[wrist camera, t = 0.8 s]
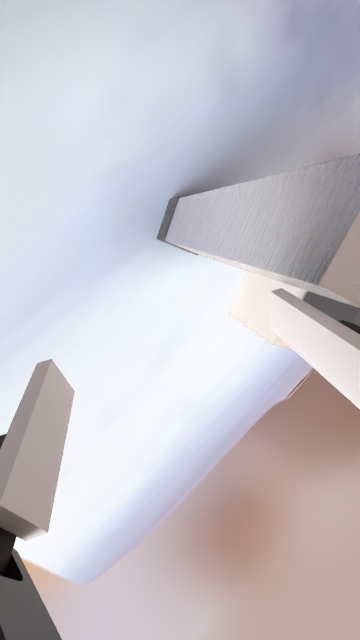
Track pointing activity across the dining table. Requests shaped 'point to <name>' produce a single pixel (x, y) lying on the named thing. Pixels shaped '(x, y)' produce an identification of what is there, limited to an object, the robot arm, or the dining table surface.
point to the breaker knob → (334, 308)
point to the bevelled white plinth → (260, 305)
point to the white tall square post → (280, 227)
